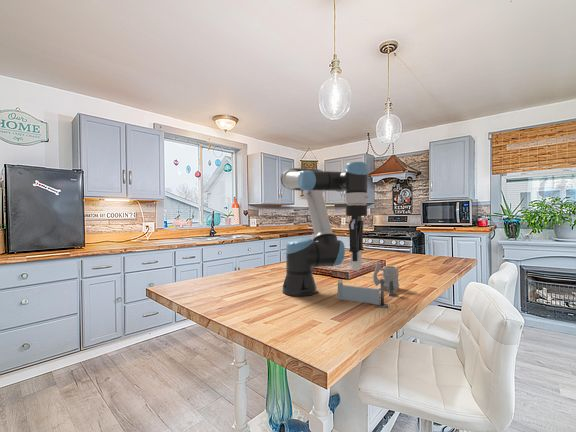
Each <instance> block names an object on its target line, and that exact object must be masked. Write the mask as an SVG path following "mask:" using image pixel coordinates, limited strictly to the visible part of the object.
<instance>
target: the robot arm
mask: <svg viewBox="0 0 576 432" xmlns="http://www.w3.org/2000/svg"><path fill="white" fill-rule="evenodd" d="M280 183H281V185H282V186H283V187H284V188H285V189H288V190H291V191H300V192H302V195H303V196H304V197H305V198H306V202H307V206H308V212H309V215H310V220H311V226H312V231H313V235H314V237H313V238H307V237H306V238H297V239H292V240H289V241H288V242H287V244H286V248H285V249H286V250H285V254H286V256H285V257H286V269H285V270H286V275H285V277H284V278H285V279H284V281H283V284H282V293H283V294H285V295H286V296H287V295H288V296H292V297H306V296H307V297H308V296H312V295H314V294H316V293H317V284H316V281H315V278H314V275H313V269H314V268H321V267H322V268H323V267H325V268H327V267H331V268H333V267H337V266H340V265H341V264H342V263H343V262H344V259H345V257H346V256H345V254H346V249H345V243H344V242H343V241H342V240H339V239H338V237H337V236H338V235H336V234H335V233H334V232H333V229H332V226H331V222H330V218H329V213H328V210H327V206H326V202H325V198H324V197H325V196H324V193H325V192H326V191H327V192H328V191H330V192H331V191H333V192H339V193H340V192H343V193H344V192H345V204H346V206H345V215H346V216H348V217H349V216H350V218H351V219H350V221H349V223H348V229H349V230H348V231H349V233H348V234H349V250H348V252H349V253H351V271H360V269H362V268H363V267H362V265H363V264H362V262H363V261H362V259H363V257H362V253H363V252H362V251H364V250H365V249H364V245H363V243H364V221H363V220H362V219H363V218H362V217H365V216H367V215H368V205H367V204H368V198H369V194H368V166H367V163H366V162H363V161H351V162H347V163H346V165H345V171H327V170H326V171H323V170H322V169H318V168H300V167H299V168H298V167H296V168H295V167H294V168H289V169H286V170H284V171H283V172H282V173H281V176H280Z"/></svg>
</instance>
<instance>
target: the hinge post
mask: <svg viewBox="0 0 576 432" xmlns="http://www.w3.org/2000/svg"><path fill="white" fill-rule="evenodd" d="M379 280H380V304H376V306H377V307H378V308H381V309H382V308H384V309H386V308H388V307H389V305H388V304H386V303H385V289H384V283H385V280H384V279H383V278H381V279H379Z"/></svg>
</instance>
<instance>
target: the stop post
mask: <svg viewBox="0 0 576 432" xmlns="http://www.w3.org/2000/svg"><path fill="white" fill-rule="evenodd" d="M394 292H395V290H394V281H392V280H390V290H389V294H388V297H391V298H392V297H393V298H397V297H398V294H399V293H394Z"/></svg>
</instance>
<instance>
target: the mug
mask: <svg viewBox="0 0 576 432" xmlns="http://www.w3.org/2000/svg"><path fill="white" fill-rule="evenodd" d="M381 271H382V274H381V275H382V279H384V280H385V283H384V291H385V290H386V291H390V280H392V281H394V291H398V290H399V289H400V284H399V268H398V267H397V266H393V265H386V266H384V265H383V267H381V266H380V263H379V262H376V265H375V269H374V271H373V274H372V281H373V284H374V285H375V286H376V287H378V286H379V285H381V283H380V279H378V273H379V272H381Z"/></svg>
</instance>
